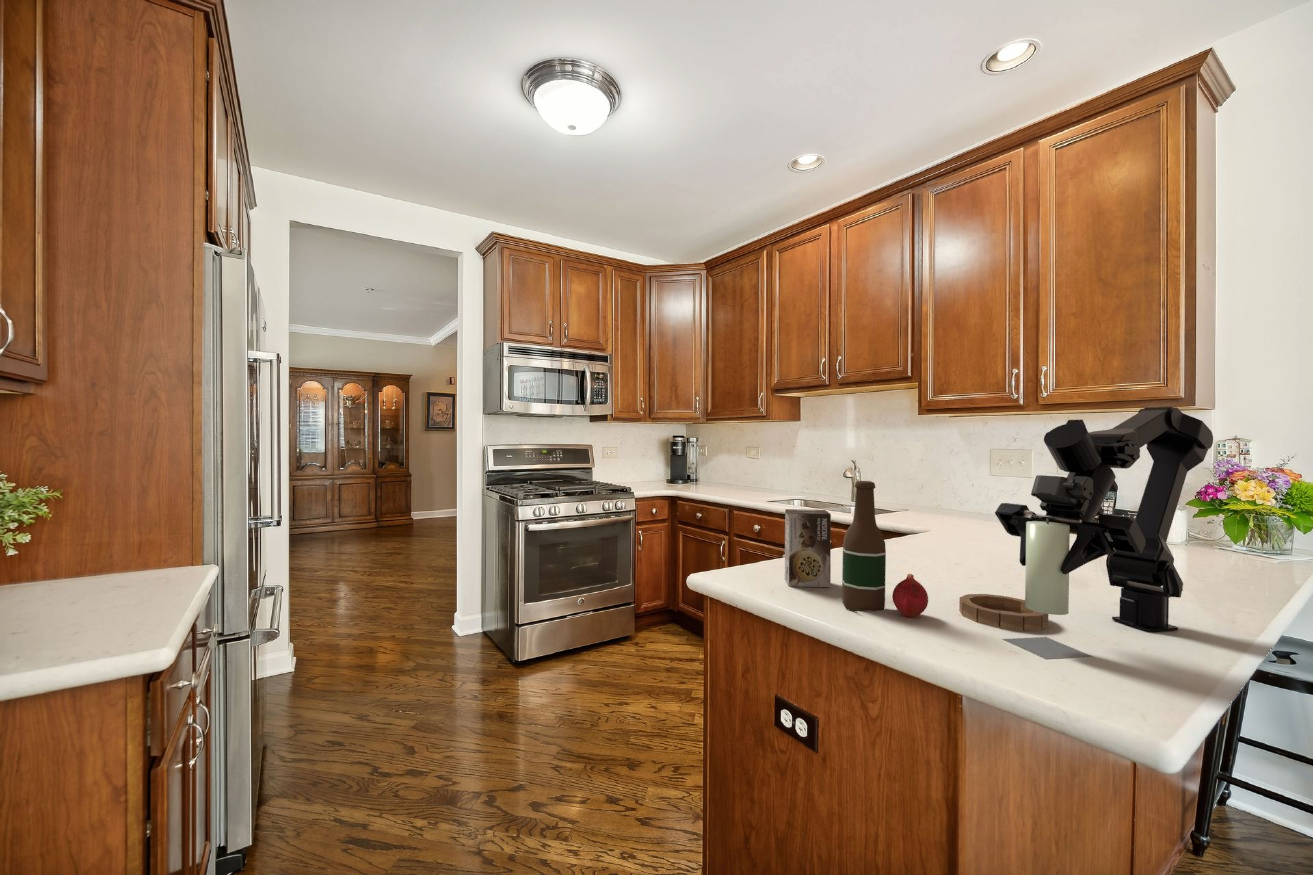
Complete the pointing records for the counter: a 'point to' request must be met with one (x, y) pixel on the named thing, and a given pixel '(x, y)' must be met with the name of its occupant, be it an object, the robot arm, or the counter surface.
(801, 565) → the coffee box
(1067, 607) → the candle
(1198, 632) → the counter surface
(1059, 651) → the mat
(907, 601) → the onion
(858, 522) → the beer bottle
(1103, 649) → the counter surface
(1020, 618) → the bowl
